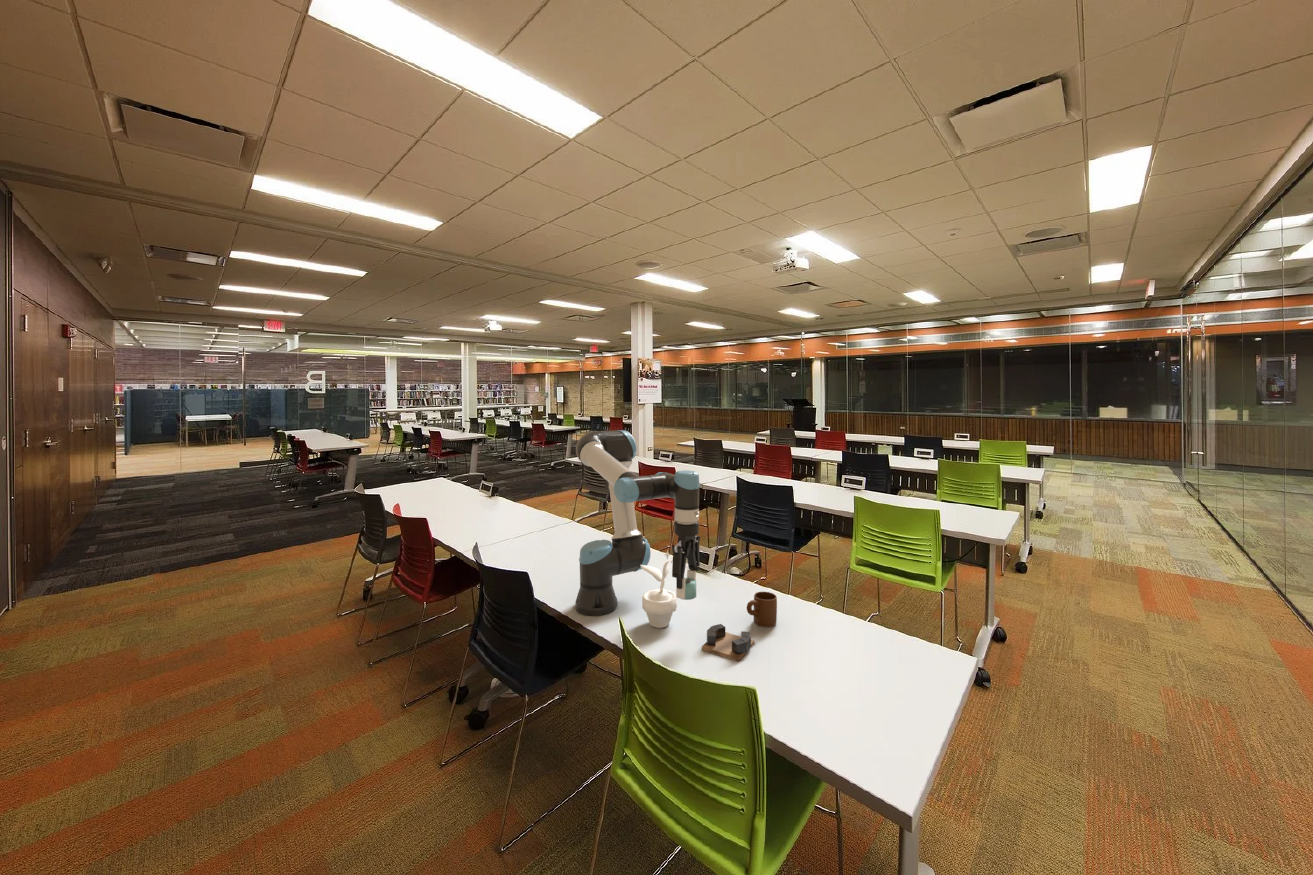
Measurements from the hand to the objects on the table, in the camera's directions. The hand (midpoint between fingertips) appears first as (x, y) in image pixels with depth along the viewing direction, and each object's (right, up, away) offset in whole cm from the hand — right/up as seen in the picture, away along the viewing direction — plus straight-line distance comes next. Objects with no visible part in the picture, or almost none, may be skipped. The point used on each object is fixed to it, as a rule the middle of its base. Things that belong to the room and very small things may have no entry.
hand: (686, 594), depth 147 cm
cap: (0, 0, 0) cm, 1 cm away
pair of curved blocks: (+13, -15, -4) cm, 20 cm away
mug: (+25, -14, +11) cm, 31 cm away
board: (+13, -15, -4) cm, 20 cm away
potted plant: (-9, -14, +11) cm, 20 cm away
